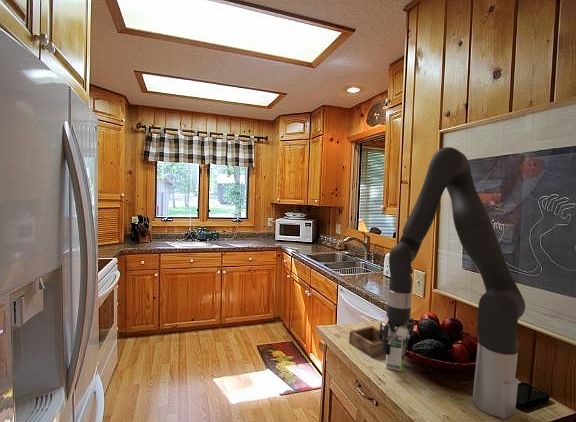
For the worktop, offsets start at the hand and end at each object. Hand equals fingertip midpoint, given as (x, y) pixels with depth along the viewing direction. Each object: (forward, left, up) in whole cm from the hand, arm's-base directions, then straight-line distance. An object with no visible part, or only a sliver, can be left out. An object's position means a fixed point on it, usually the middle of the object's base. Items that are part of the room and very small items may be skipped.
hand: (395, 350), depth 109 cm
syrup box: (0, 0, -5) cm, 5 cm away
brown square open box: (+13, -3, -5) cm, 14 cm away
